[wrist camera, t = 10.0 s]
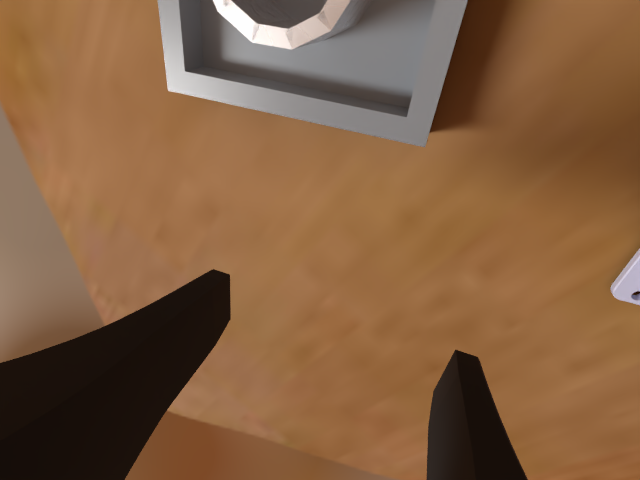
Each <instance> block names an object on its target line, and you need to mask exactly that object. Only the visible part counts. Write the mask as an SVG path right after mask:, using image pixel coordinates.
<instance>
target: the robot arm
mask: <svg viewBox="0 0 640 480" xmlns="http://www.w3.org/2000/svg"><path fill="white" fill-rule="evenodd" d="M637 291H640V248H639V250H638V251H637V252H636V254H635V255H634V256H633V258H632V259H631V260H630V262H629V263H628V264H627V265H626V267H625V268H624V269H623V271H622V272H621V273H620V275H619V276H618V277H617V279H616V280H615V281H614V283H613V284H612V286H611V292H612V294H613V296H614V297H615V298H617V299H619V300H622V301H626V302H630V303H633V304H637V305H640V294H637V295H632V294H633V293H634V292H637ZM229 320H230V275H229V274H226V273H223V272H220V271H217V270H214V269H213V270H211V271H209V272H207V273H205V274H203V275H202V276H200V277H198V278H196V279H195V280H193V281H191V282H189V283H188V284H186V285H184V286H182V287H181V288H179V289H177V290H175V291H173V292H172V293H170V294H168V295H166V296H164V297H162V298H161V299H159V300H157V301H155V302H153V303H151V304H150V305H148V306H146V307H144V308H142V309H140V310H138V311H136V312H134V313H132V314H130V315H128V316H126V317H124V318H122V319H120V320H117V321H115V322H113V323H111V324H109V325H106V326H104V327H102V328H100V329H97V330H95V331H92V332H90V333H87V334H85V335H83V336H80V337H78V338H75V339H72V340H70V341H67V342H64V343H61V344H58V345H55V346H52V347H50V348H47V349H44V350H41V351H38V352H35V353H32V354H29V355H26V356H23V357H19V358H16V359H13V360H10V361H6V362H2V363H0V480H125V478H126V476H127V474H128V473H129V471H130V469H131V468H132V466H133V464H134V462H135V461H136V459H137V457H138V456H139V454H140V452H141V451H142V449H143V447H144V446H145V444H146V442H147V441H148V439H149V437H150V436H151V434H152V433H153V431H154V429H155V428H156V426H157V425H158V423H159V421H160V420H161V418H162V417H163V415H164V413H165V412H166V411H167V409H168V408H169V406H170V405H171V404H172V402H173V401H174V400H175V398H176V397H177V396H178V394H179V393H180V392H181V390H182V389H183V388H184V386H185V385H186V384H187V382H188V381H189V380H190V378H191V377H192V376H193V374H194V373H195V372H196V370H197V369H198V368H199V366H200V365H201V364H202V362H203V361H204V360H205V358H206V357H207V356H208V354H209V353H210V352H211V350H212V349H213V348H214V346H215V345H216V343H217V341H218V340H219V338H220V336H221V335H222V333H223V331H224V329H225V328H226V326H227V324H228V322H229ZM427 480H528V479H527V477H526V475H525V473H524V471H523V469H522V467H521V464H520V462H519V460H518V458H517V456H516V454H515V451H514V449H513V447H512V445H511V442H510V440H509V438H508V435H507V433H506V430H505V428H504V426H503V423H502V421H501V419H500V416H499V413H498V411H497V408H496V406H495V403H494V400H493V398H492V395H491V392H490V390H489V387H488V384H487V381H486V378H485V375H484V373H483V370H482V367H481V364H480V361H479V359H478V357H476V356H473V355H470V354H467V353H464V352H461V351H458V350H455V352H454V354H453V355H452V357H451V359H450V361H449V363H448V365H447V367H446V369H445V371H444V372H443V374H442V376H441V378H440V380H439V382H438V384H437V386H436V388H435V389H434V392H433V398H432V405H431V411H430V419H429V427H428V454H427Z"/></svg>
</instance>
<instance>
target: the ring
mask: <svg viewBox="0 0 640 480" xmlns="http://www.w3.org/2000/svg"><path fill="white" fill-rule="evenodd" d="M372 1H373V0H327V2H326V3H325V5H324V7H323V8H322V10H321V12H320V13H319V14H317V15H315V16H313V17H311V18H309V19H307V20H305V21H301V20H295V19H293V18H292V17H291V16H290V15H289V14H288V13H287V12H286V11H284V10H283V9H282V8H281V7H280V6H279V5H278V4H277V3H276V2H275V1H274V0H213V2H214V4H215V6H216V8H217V10H218V12H219V13H220V14H221V15H222V16H223V17H224V18H225V19H227V20H228V21H229V22H230V23H231V24H232V25H233V26H234V27H236V28H237V29H238V30H239V31H240V32H241V33H242V34H243V35H244V36H246V37H247V38H248V39H249V40H250V41H251V42H253V43H258V44H264V45H269V46H275V47H280V48H286V49H291V50H292V49H296V48H299V47H303V46H306V45H310V44H313V43H317V42H320V41H323V40H326V39H328V38H330V37H332V36H334V35H336V34H338V33H340V32H342V31H345V30H347V29H349V28H351V27H353V26H355V25H356V24H357V23H358V21H359V20H360V18H361V17H362V15H363V14H364V12H365V11H366V10H367V8H368V7H369V5H370V4H371V2H372Z"/></svg>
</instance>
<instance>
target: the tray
mask: <svg viewBox="0 0 640 480" xmlns="http://www.w3.org/2000/svg"><path fill="white" fill-rule="evenodd" d="M274 1H275V2H276V3H277V4H278V5H279V6H280V7H281V8H282V9H283V10H284V11H286V12H287V13H288V14H289V15H290V16H291V17H292V18H293V19H295V20H301V21H305V20H307V19H309V18H311V17H313V16H315V15H317V14H319V13H320V12H321V10H322V8H323V7H324V5H325V3H326V2H327V0H274ZM467 1H468V0H373V1H372V2H371V4H370V5H369V7H368V8H367V10H366V11H365V12H364V14H363V15H362V17H361V18H360V20H359V21H358V23H357V24H356V25H355V26H353V27H351V28H349V29H347V30H345V31H342V32H340V33H338V34H336V35H334V36H332V37H330V38H328V39H326V40H323V41H320V42H317V43H313V44H310V45H306V46H303V47H299V48H296V49H292V50H291V49H286V48H280V47H275V46H269V45H264V44H258V43H253V42H251V41H250V40H249V39H248V38H247V37H246V36H244V35H243V34H242V33H241V32H240V31H239V30H238V29H237V28H236V27H234V26H233V25H232V24H231V23H230V22H229V21H228V20H227V19H225V18H224V17H223V16H222V15H221V14H220V13H219V12H218V10H217V8H216V6H215V4H214V2H213V0H158V6H159V15H160V24H161V33H162V41H163V50H164V59H165V68H166V77H167V85H168V91H172V92H177V93H182V94H186V95H191V96H195V97H200V98H204V99H209V100H213V101H218V102H222V103H227V104H231V105H236V106H240V107H245V108H249V109H254V110H259V111H263V112H268V113H272V114H277V115H281V116H286V117H290V118H295V119H299V120H304V121H308V122H313V123H317V124H322V125H326V126H331V127H336V128H340V129H345V130H349V131H354V132H358V133H363V134H367V135H372V136H376V137H381V138H385V139H390V140H394V141H399V142H404V143H408V144H413V145H417V146H422V147H425V146H426V142H427V139H428V135H429V132H430V128H431V125H432V121H433V118H434V115H435V111H436V108H437V104H438V101H439V97H440V94H441V90H442V87H443V84H444V80H445V77H446V73H447V70H448V66H449V63H450V59H451V56H452V53H453V49H454V46H455V42H456V39H457V35H458V32H459V28H460V25H461V22H462V18H463V15H464V11H465V8H466V4H467Z"/></svg>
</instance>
